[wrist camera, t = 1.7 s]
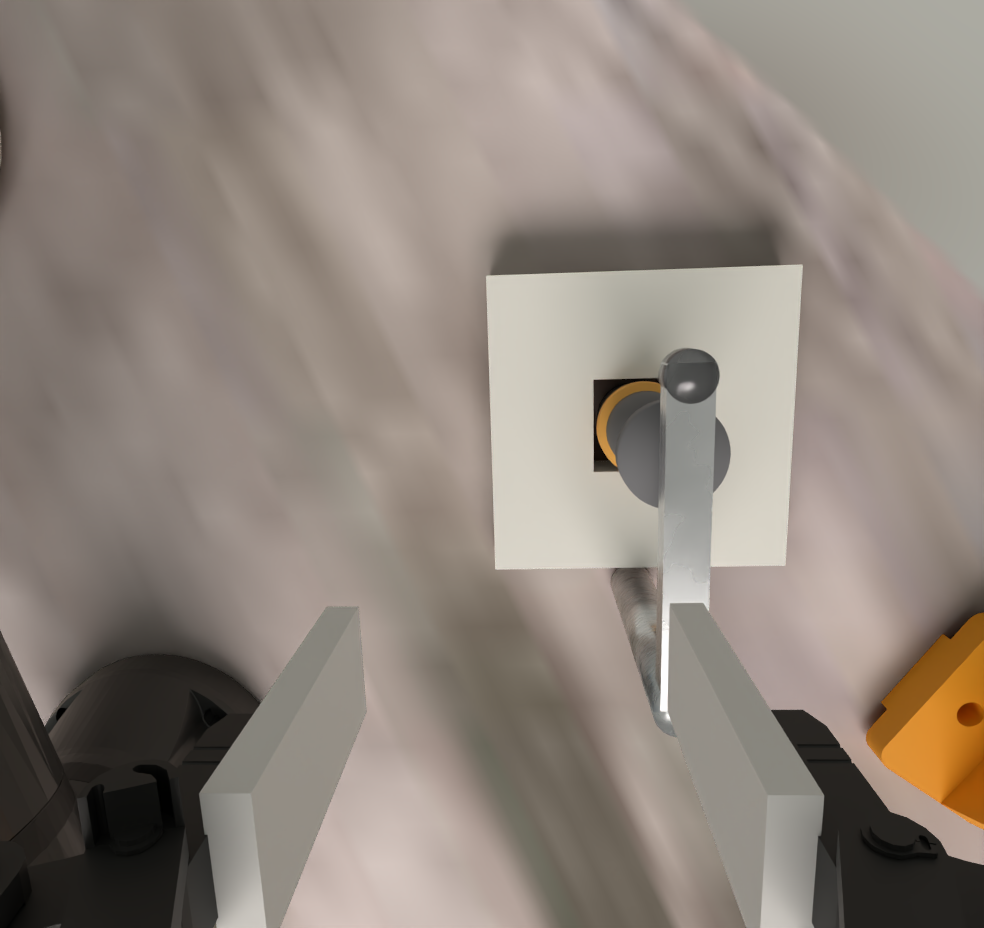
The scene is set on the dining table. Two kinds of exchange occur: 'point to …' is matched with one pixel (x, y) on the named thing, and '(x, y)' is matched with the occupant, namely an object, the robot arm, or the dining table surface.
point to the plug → (644, 438)
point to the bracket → (940, 723)
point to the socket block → (630, 355)
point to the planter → (0, 148)
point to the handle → (674, 521)
